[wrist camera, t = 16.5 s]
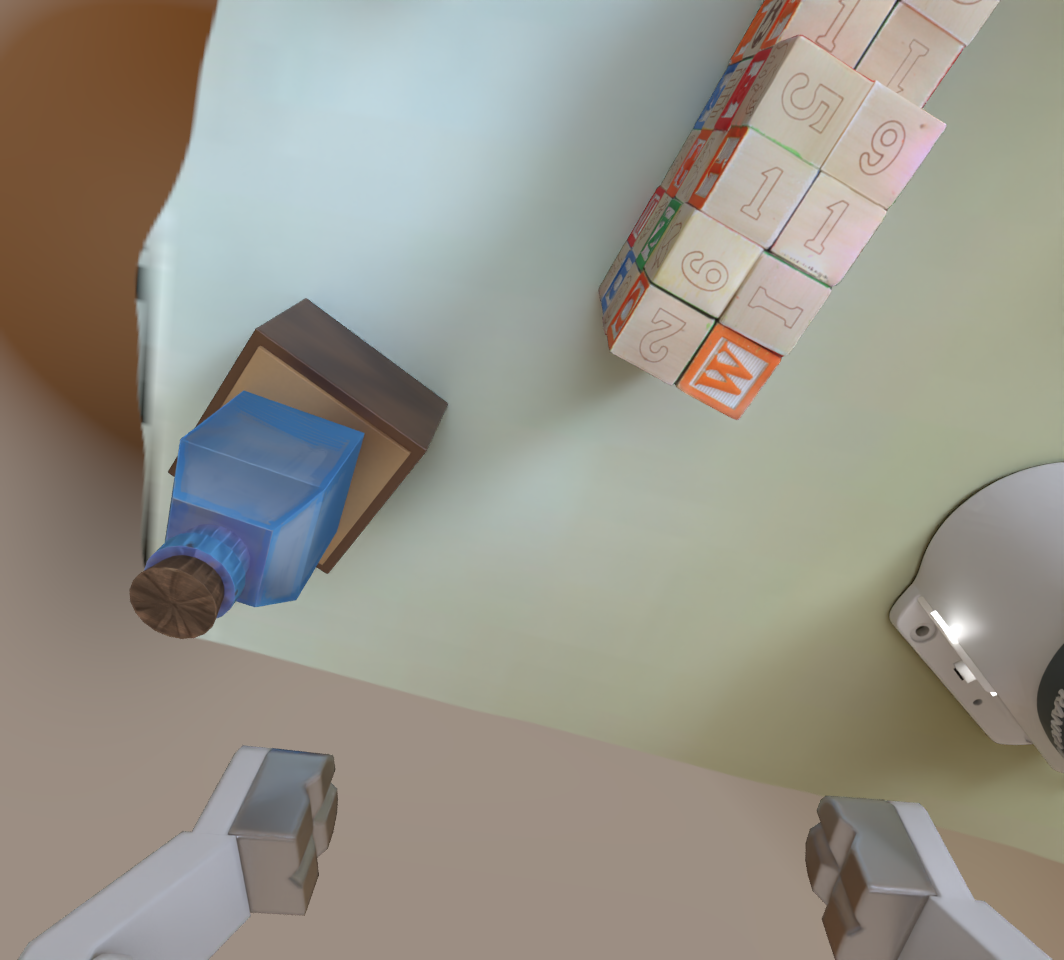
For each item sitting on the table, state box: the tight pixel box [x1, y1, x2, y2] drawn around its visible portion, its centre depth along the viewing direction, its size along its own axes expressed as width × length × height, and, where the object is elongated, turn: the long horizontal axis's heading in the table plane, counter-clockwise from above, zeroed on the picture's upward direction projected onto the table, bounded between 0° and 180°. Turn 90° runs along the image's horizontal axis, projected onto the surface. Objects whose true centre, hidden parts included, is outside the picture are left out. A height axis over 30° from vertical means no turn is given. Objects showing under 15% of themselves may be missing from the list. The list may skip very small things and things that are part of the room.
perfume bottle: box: [130, 391, 365, 639], centre depth 31 cm, size 6×6×12 cm
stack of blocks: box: [599, 0, 1000, 420], centre depth 29 cm, size 21×6×12 cm, turn 152°
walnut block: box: [168, 298, 448, 574], centre depth 39 cm, size 10×10×7 cm
